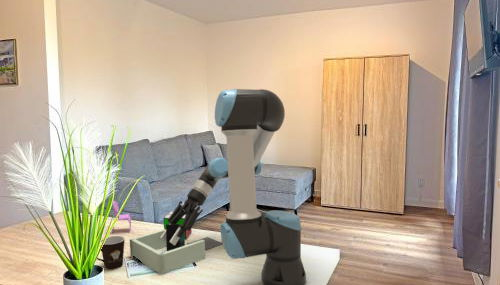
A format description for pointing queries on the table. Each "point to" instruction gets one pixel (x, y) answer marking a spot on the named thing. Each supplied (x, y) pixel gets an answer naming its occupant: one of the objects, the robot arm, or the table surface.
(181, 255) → the bay
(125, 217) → the toy chair
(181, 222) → the puzzle cube
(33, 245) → the table surface
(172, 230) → the speaker
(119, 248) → the coffee mug
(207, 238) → the coaster
